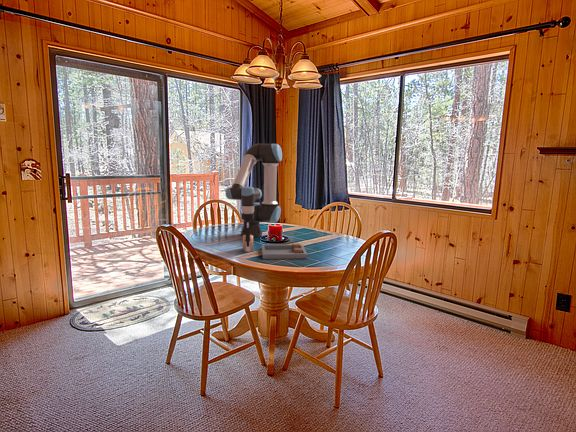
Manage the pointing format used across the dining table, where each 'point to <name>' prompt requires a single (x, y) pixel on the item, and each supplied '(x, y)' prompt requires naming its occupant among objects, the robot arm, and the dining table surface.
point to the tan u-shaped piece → (250, 243)
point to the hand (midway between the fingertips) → (247, 249)
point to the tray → (281, 252)
